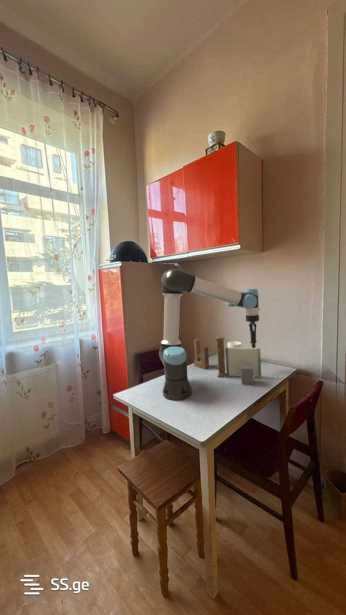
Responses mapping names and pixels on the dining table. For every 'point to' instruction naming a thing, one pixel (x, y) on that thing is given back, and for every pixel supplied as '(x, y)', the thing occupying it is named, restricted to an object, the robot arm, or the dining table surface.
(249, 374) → the dark grey upright block
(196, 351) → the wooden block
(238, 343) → the foam cup
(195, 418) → the dining table surface
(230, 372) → the door
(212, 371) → the dining table surface
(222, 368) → the door post
